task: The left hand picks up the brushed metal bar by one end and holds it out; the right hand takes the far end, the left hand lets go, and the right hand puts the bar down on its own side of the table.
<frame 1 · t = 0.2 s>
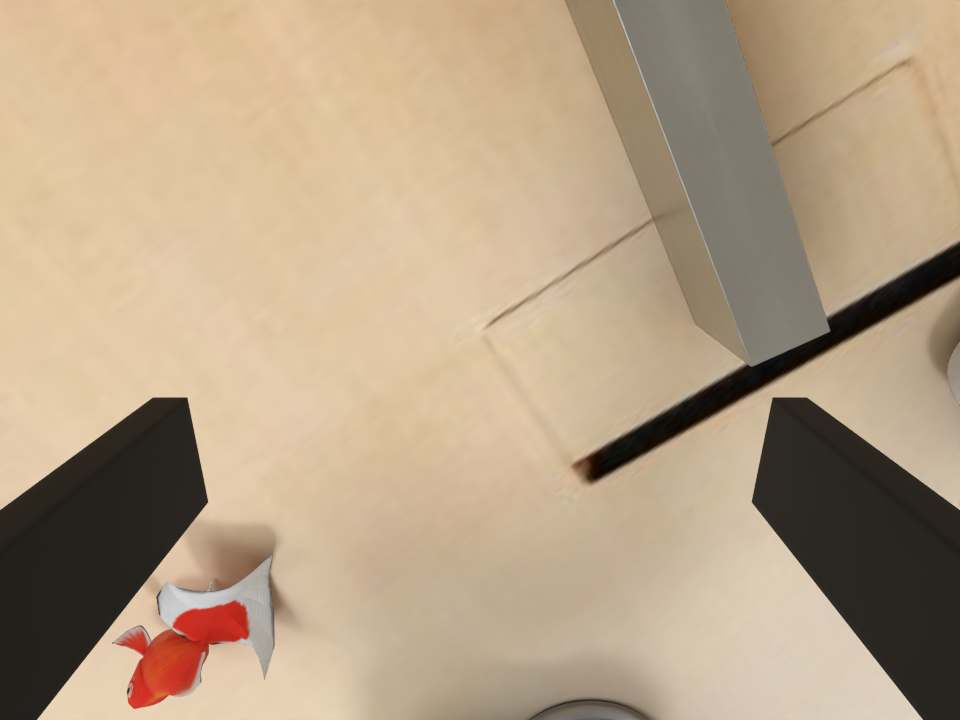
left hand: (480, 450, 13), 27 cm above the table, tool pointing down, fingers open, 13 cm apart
bar: (662, 142, 36), on the table
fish: (222, 591, 48), on the table
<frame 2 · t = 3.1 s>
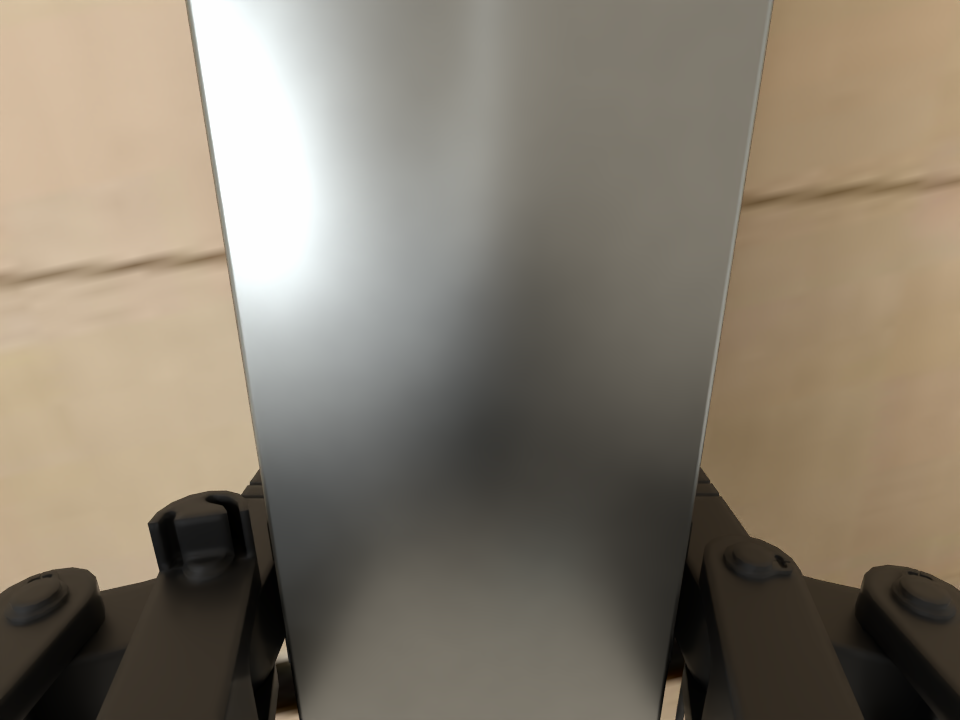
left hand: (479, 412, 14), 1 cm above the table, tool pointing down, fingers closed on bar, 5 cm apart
bar: (479, 40, 12), on the table, touching left hand
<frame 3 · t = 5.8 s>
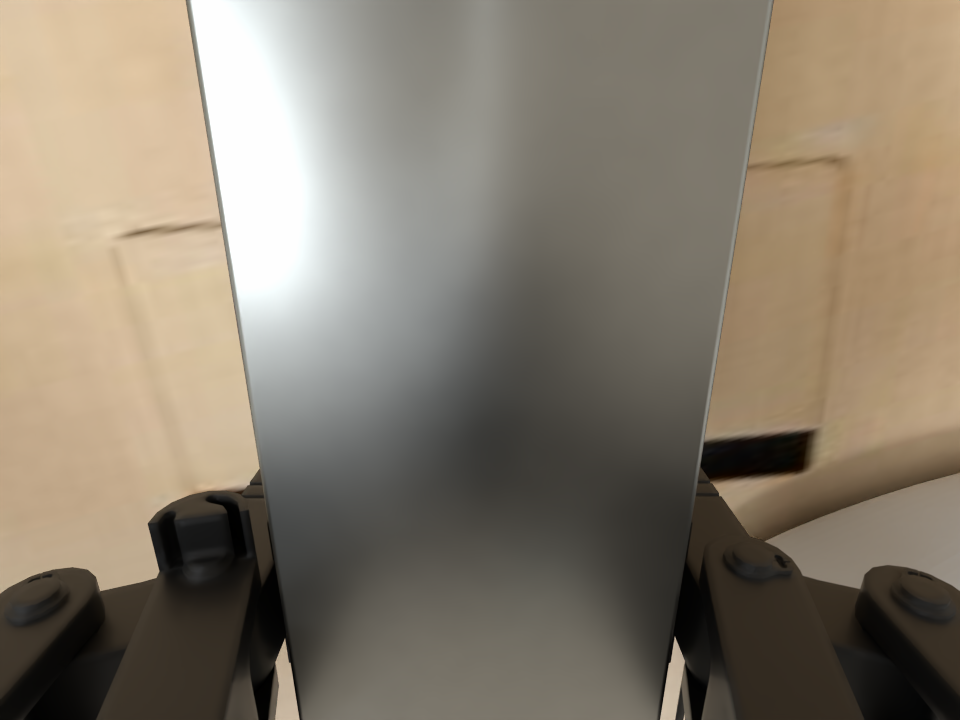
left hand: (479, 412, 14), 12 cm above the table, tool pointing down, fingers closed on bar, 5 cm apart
bar: (479, 40, 12), point 11 cm above the table, touching left hand
projector: (898, 568, 31), on the table
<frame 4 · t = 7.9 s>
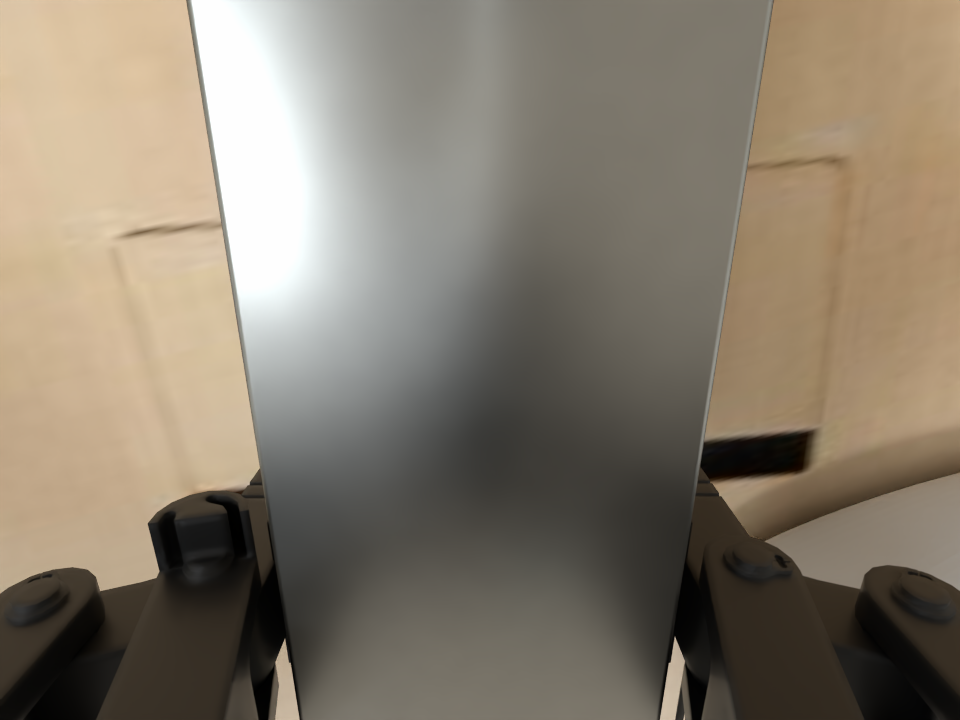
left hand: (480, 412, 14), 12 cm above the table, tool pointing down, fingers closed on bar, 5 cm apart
bar: (479, 40, 12), point 11 cm above the table, touching left hand, right hand
projector: (898, 568, 31), on the table
when the left hand's fingers open (12 cm above the table, at t = 8.5 s): bar stays where it is, held by the right hand.
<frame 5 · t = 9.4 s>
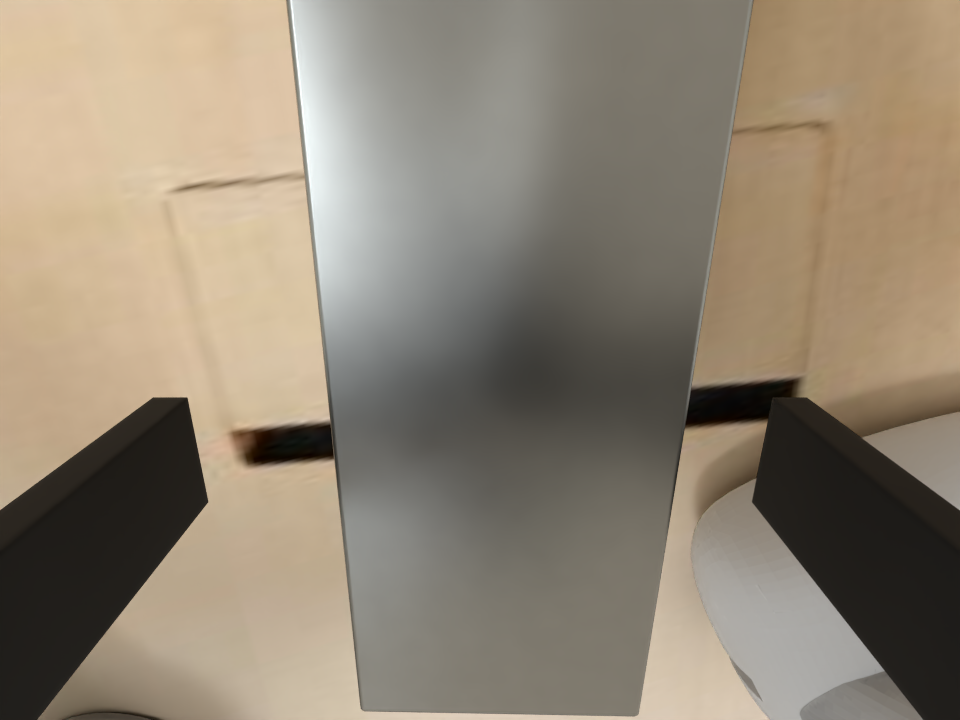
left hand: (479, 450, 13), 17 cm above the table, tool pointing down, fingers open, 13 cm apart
projector: (877, 511, 33), on the table
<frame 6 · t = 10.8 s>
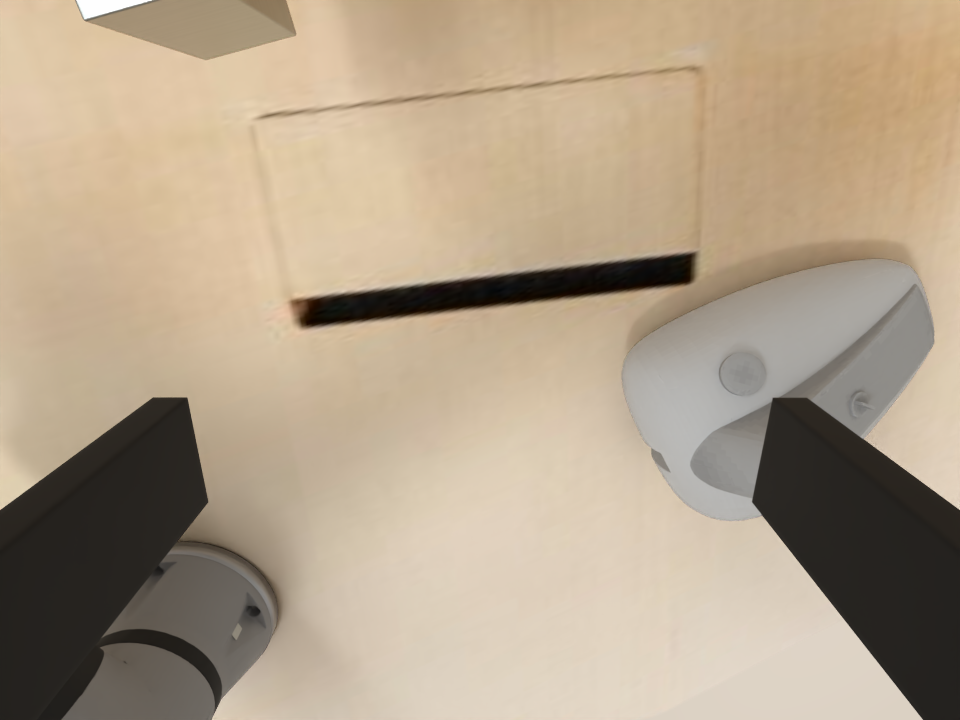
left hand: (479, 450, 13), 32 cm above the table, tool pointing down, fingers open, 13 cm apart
projector: (759, 356, 46), on the table
when the right hand's fingers open (2 cm above the table, at t = 14.0 s): bar drops 2 cm, on the table.
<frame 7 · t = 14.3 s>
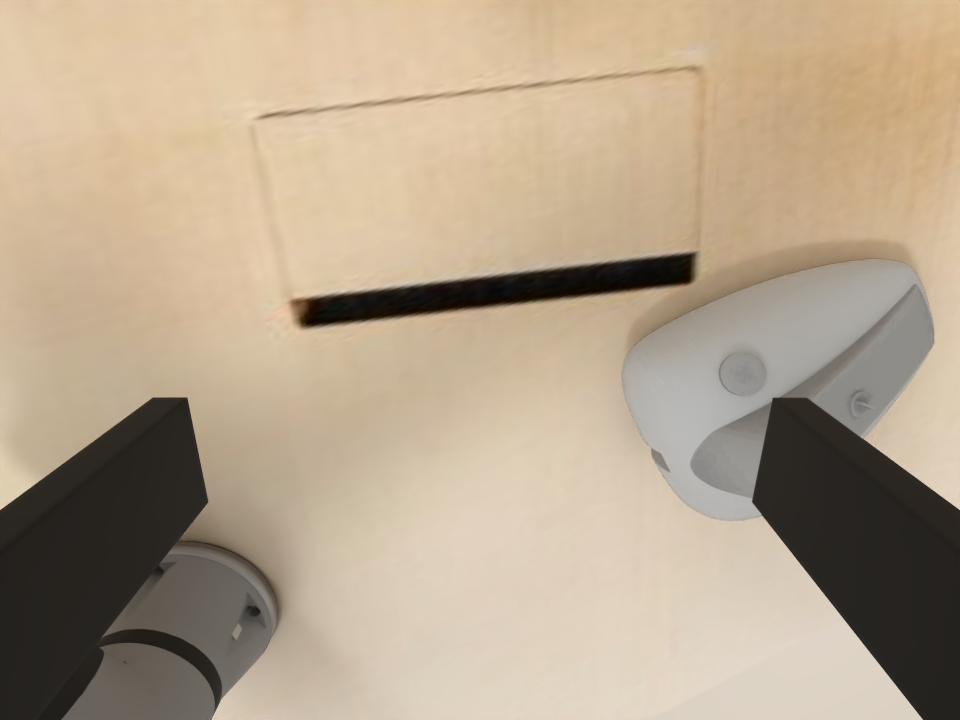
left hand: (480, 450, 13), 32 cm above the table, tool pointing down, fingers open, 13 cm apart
projector: (759, 356, 46), on the table
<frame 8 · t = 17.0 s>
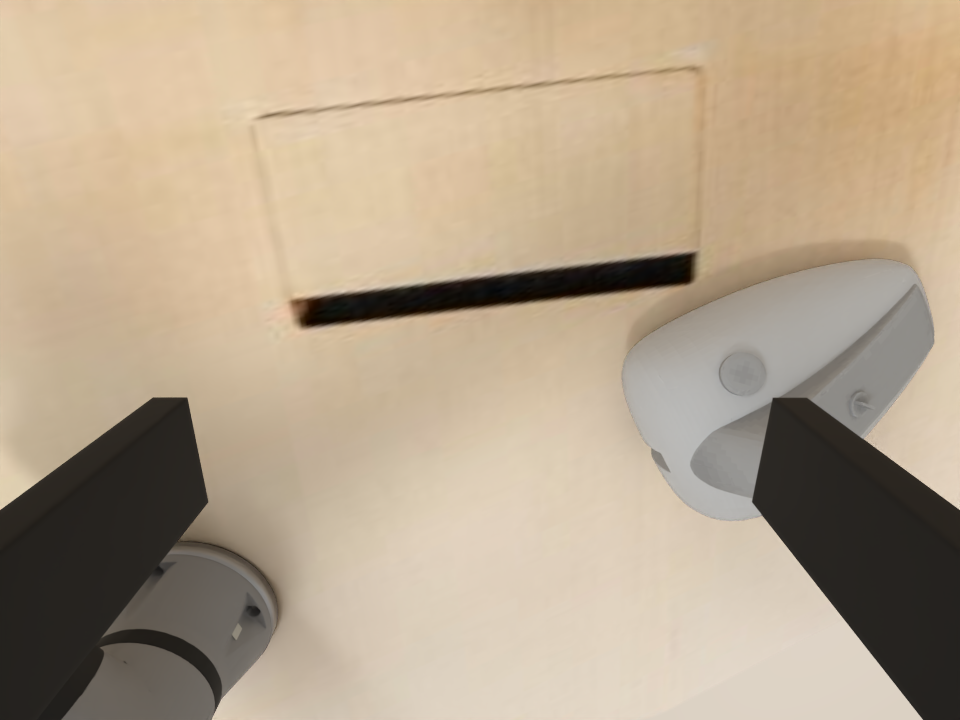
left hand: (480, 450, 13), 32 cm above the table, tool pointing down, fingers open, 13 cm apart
projector: (759, 356, 46), on the table
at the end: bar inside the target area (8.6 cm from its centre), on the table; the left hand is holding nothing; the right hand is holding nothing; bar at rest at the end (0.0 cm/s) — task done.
